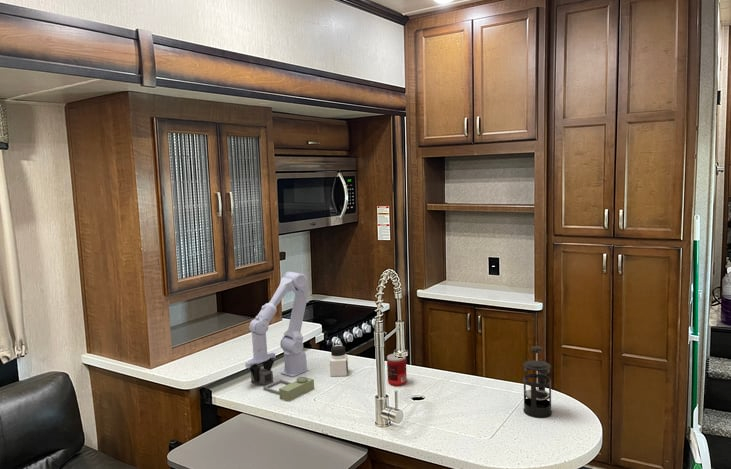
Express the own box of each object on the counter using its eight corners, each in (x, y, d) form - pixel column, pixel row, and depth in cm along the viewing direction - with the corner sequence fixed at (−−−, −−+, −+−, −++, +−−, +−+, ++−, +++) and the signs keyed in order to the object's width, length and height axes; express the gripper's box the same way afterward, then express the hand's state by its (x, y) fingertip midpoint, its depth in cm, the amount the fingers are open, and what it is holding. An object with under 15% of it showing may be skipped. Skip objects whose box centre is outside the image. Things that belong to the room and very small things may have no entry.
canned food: (407, 378, 216) (406, 352, 215) (406, 386, 208) (405, 359, 207) (388, 378, 216) (387, 353, 215) (387, 386, 209) (386, 359, 207)
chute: (251, 382, 220) (250, 371, 219) (260, 378, 223) (259, 367, 223) (264, 386, 215) (263, 374, 214) (273, 382, 218) (272, 371, 218)
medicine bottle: (347, 376, 222) (345, 348, 220) (330, 376, 222) (328, 349, 220) (348, 370, 229) (346, 343, 227) (331, 370, 229) (330, 344, 227)
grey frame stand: (285, 380, 220) (284, 368, 220) (314, 388, 210) (313, 376, 209) (259, 391, 210) (258, 379, 209) (288, 401, 199) (287, 388, 198)
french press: (547, 421, 174) (546, 354, 171) (519, 415, 179) (518, 350, 176) (556, 407, 183) (555, 343, 181) (529, 402, 188) (528, 340, 186)
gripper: (266, 341, 225) (269, 371, 227) (239, 351, 214) (242, 383, 216) (278, 344, 221) (280, 375, 223) (250, 354, 210) (253, 386, 211)
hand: (262, 379), depth 219 cm, fingers closed on chute, 5 cm apart
